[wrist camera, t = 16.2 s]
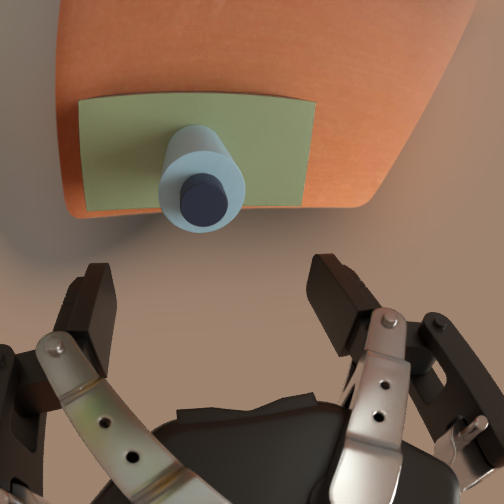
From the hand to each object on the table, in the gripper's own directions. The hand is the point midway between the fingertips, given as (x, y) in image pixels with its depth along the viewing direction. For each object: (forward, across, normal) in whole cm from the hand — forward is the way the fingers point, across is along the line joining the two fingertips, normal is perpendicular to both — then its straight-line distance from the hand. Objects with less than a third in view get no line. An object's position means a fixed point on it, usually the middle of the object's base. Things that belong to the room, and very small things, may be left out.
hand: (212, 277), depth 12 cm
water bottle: (+21, 0, 0) cm, 21 cm away
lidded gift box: (+29, 0, 0) cm, 29 cm away
